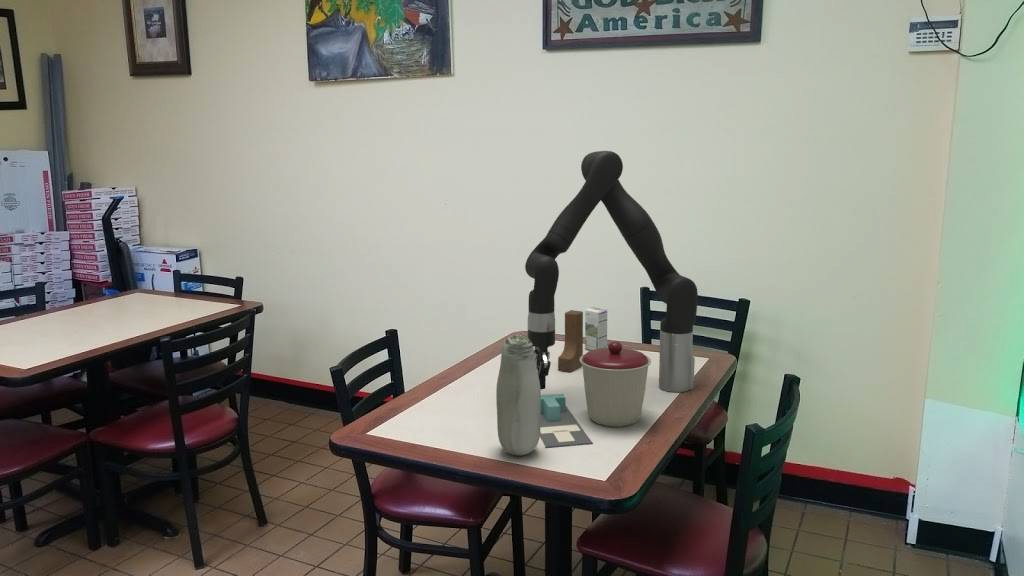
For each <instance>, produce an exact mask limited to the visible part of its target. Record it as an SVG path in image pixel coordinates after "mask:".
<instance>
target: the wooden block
mask: <svg viewBox="0 0 1024 576" xmlns="http://www.w3.org/2000/svg"><path fill="white" fill-rule="evenodd" d="M583 323H584V311H582V310H575V309H573V310H572V309H571V310H568V311H566V312H565V313H564V347H563V350H562V352H561V354H560V355H559V356H558V357H557V370H558V371H559V372H564V373H571V372H574V371H575V370H577V369H578V368H581V367H582V364H581V363H580V357H581V356H582V355H584V324H583Z"/></svg>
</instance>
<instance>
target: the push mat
mask: <svg viewBox="0 0 1024 576" xmlns="http://www.w3.org/2000/svg"><path fill="white" fill-rule="evenodd" d="M539 439H541V441H542V443H543V445H544V448H545V449H555V448H564V447H565V448H567V447H578V446H587V445H589V446H590V445H593V442H592V440H591V438H590V437H589V435H588V434H587V432H585V430H584V428H583V427H582V426H581V424H580V423H579V421H578V420H577V419H576V418H575V416H574V414H573V413H572V411H570V409H569V408H568V406H567V405H566V412H560V421H550V422H549V421H548V420H547V418H546V417H545V415H544V413H543V414H540V438H539Z"/></svg>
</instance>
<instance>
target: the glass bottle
mask: <svg viewBox="0 0 1024 576" xmlns="http://www.w3.org/2000/svg"><path fill="white" fill-rule="evenodd" d="M534 350H535V347H533V344H532V342H531V341H530V340H529V339H528V336H524V335H521V334H514V335H512V336H509V337H507V338H506V340H504V342H503V343H502V346H501V356H500V366H499V371H498V374H497V375H498V376H497V382H496V391H495V392H496V393H495V394H496V401H495V402H496V418H497V419H496V420H497V422H496V424H497V426H496V427H497V437H498V441H499V443H500V445H501V447H502V449H503V450H504V451H506V453H508V454H509V455H513V456H519V457H520V456H526V455H528V454H530V453H532V452H533V451H534V450H535V449H536V448H537V446H538V444H539V441H540V439H541V438H540V410H541V395H542V394H541V389H540V381H539V377H538V372H537V368H536V363H535V354H534Z"/></svg>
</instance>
